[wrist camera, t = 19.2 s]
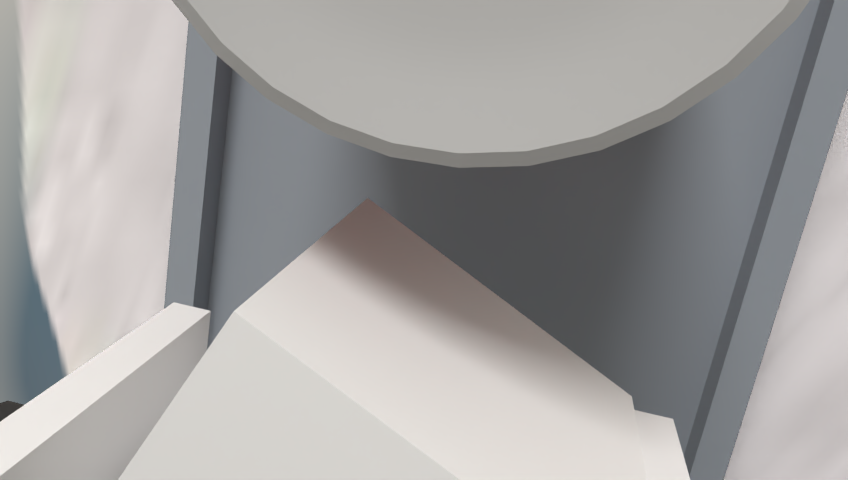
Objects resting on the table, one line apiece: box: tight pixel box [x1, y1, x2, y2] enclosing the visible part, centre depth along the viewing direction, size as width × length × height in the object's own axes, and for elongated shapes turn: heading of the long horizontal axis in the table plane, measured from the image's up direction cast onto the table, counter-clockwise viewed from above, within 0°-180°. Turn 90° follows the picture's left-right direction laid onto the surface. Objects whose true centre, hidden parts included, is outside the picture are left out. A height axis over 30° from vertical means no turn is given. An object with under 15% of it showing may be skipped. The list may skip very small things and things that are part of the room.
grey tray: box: [164, 0, 848, 480], centre depth 20 cm, size 21×15×4 cm
